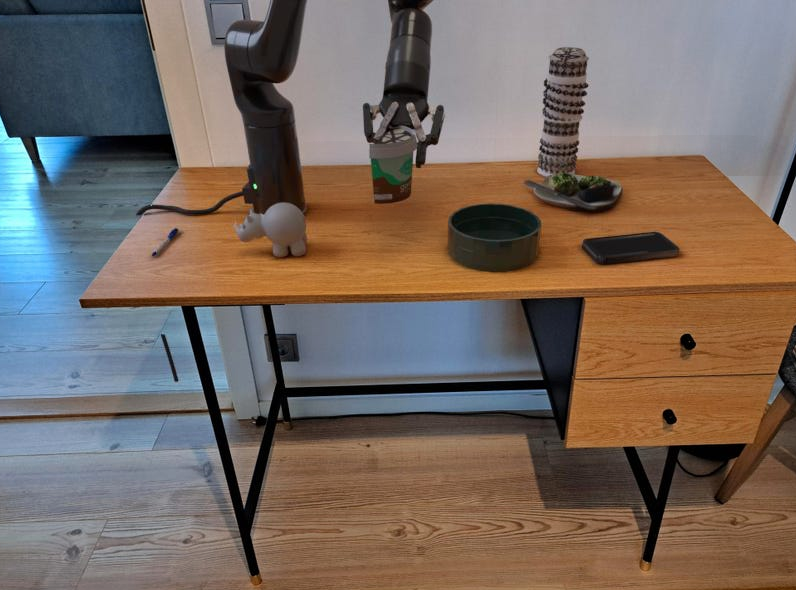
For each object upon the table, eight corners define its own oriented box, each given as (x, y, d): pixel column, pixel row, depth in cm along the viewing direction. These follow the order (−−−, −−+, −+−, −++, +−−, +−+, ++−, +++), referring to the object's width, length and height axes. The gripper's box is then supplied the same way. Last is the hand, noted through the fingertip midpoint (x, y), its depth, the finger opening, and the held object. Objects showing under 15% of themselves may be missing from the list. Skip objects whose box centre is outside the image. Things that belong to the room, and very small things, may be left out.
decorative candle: (544, 180, 139) (557, 55, 124) (529, 166, 146) (540, 46, 131) (583, 177, 140) (601, 52, 126) (566, 163, 148) (581, 44, 133)
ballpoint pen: (174, 231, 117) (173, 226, 117) (179, 231, 117) (178, 226, 117) (151, 257, 109) (150, 251, 108) (156, 257, 109) (155, 252, 108)
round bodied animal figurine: (243, 243, 114) (235, 197, 109) (311, 241, 114) (306, 195, 109) (235, 261, 108) (226, 214, 103) (307, 259, 108) (301, 212, 103)
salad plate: (509, 203, 128) (511, 180, 126) (538, 175, 141) (540, 154, 139) (605, 220, 121) (609, 197, 119) (626, 189, 134) (630, 167, 132)
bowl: (443, 269, 105) (443, 238, 102) (452, 230, 118) (452, 201, 115) (538, 274, 104) (542, 243, 101) (537, 234, 117) (540, 205, 113)
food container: (408, 210, 103) (407, 147, 97) (371, 207, 104) (368, 144, 98) (424, 183, 112) (424, 124, 107) (390, 180, 113) (388, 122, 108)
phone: (580, 239, 112) (658, 231, 114) (579, 245, 113) (657, 236, 115) (599, 259, 106) (682, 250, 108) (598, 265, 106) (680, 256, 109)
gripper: (451, 87, 112) (443, 177, 109) (370, 84, 113) (360, 174, 110) (448, 59, 104) (440, 156, 101) (361, 57, 106) (351, 152, 103)
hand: (398, 165), depth 106 cm, fingers closed on food container, 6 cm apart
